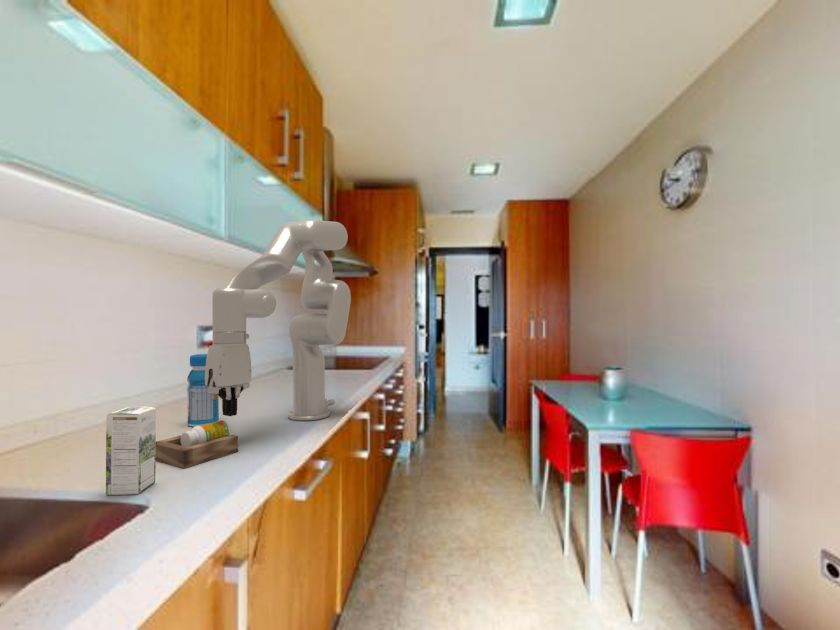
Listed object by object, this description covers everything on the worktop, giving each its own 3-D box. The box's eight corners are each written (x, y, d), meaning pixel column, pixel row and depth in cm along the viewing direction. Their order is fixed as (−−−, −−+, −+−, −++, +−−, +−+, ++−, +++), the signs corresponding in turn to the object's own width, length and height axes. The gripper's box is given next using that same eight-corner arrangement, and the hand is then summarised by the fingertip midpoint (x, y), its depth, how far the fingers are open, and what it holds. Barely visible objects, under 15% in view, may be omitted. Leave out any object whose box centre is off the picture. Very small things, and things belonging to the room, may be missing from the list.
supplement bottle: (234, 435, 106) (195, 445, 97) (222, 446, 108) (184, 457, 100) (225, 415, 107) (186, 424, 99) (214, 427, 110) (175, 436, 101)
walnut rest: (205, 444, 109) (205, 429, 109) (238, 451, 103) (238, 435, 103) (151, 459, 98) (151, 442, 98) (183, 468, 92) (183, 451, 92)
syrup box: (124, 483, 84) (123, 406, 84) (157, 482, 84) (156, 405, 84) (105, 496, 78) (104, 413, 78) (140, 494, 79) (139, 412, 79)
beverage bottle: (196, 429, 123) (195, 356, 123) (181, 424, 128) (180, 355, 128) (225, 423, 130) (224, 354, 130) (210, 419, 135) (209, 353, 135)
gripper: (245, 337, 116) (245, 408, 116) (190, 340, 103) (191, 419, 103) (265, 338, 113) (265, 411, 113) (211, 341, 100) (211, 423, 100)
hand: (229, 415), depth 108 cm, fingers closed
